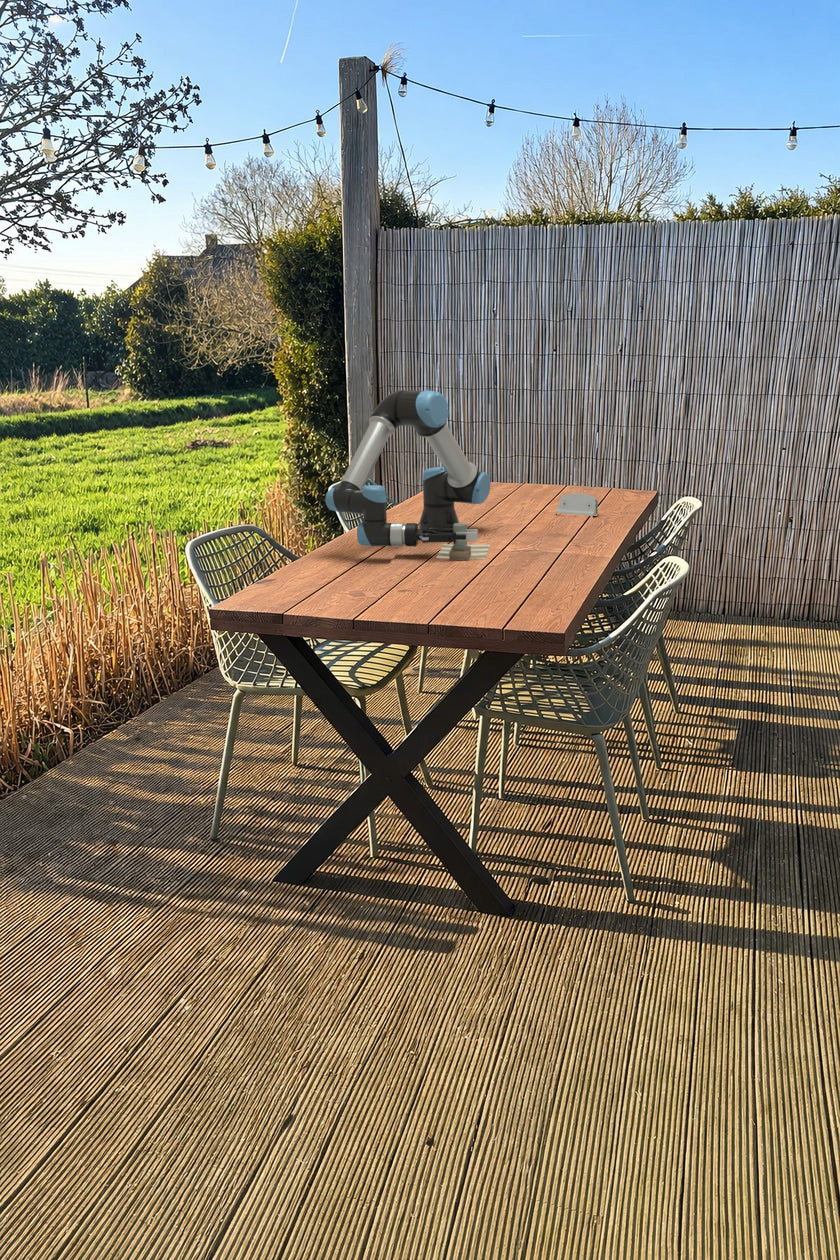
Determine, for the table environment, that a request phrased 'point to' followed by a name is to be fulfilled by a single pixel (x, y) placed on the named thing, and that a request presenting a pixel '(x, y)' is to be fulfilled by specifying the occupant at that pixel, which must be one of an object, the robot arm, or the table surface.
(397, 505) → the table surface
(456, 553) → the block
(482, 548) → the board
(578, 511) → the hinge
